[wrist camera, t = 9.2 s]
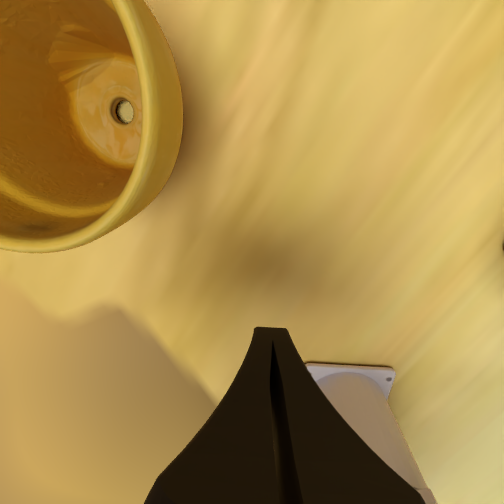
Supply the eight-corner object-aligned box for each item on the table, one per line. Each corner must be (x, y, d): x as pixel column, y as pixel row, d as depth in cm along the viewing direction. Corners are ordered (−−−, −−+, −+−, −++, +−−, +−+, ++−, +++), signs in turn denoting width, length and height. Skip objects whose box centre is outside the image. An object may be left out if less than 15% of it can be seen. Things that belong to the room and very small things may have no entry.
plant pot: (24, -2, 15) (-352, -217, 6) (215, 16, 15) (143, -167, 6) (61, 191, 19) (-122, 243, 10) (210, 204, 19) (164, 269, 10)
